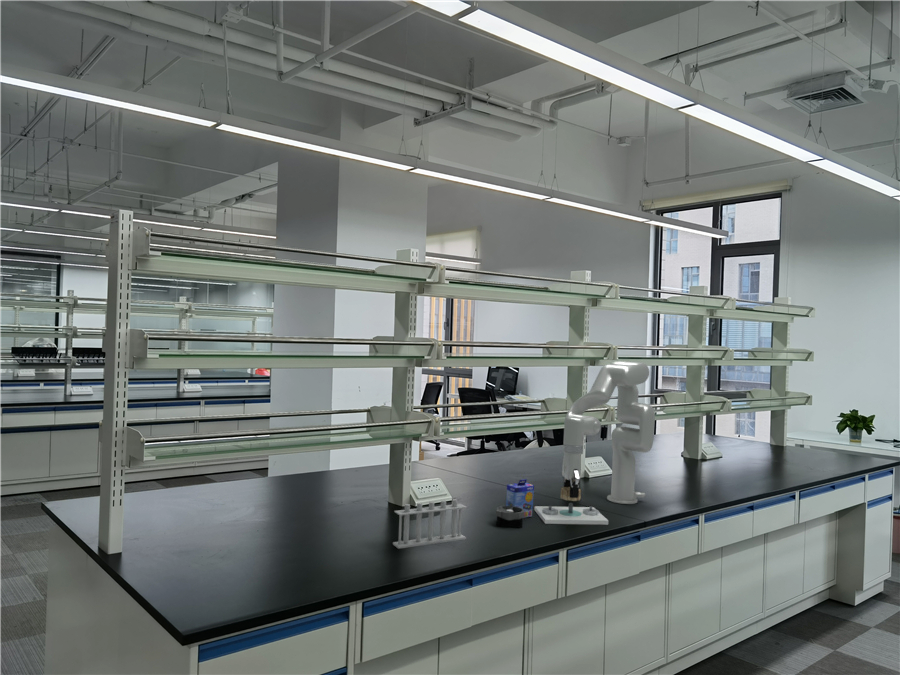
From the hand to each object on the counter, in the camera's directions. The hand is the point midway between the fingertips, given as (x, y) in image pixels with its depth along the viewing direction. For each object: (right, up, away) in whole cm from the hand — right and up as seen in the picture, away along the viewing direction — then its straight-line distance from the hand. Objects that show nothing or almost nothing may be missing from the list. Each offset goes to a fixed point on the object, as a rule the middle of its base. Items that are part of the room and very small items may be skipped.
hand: (570, 494), depth 250 cm
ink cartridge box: (-20, -8, -2) cm, 22 cm away
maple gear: (0, -1, 0) cm, 1 cm away
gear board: (0, -9, 0) cm, 9 cm away
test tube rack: (-53, -7, -36) cm, 64 cm away
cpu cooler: (-25, -8, -12) cm, 29 cm away
